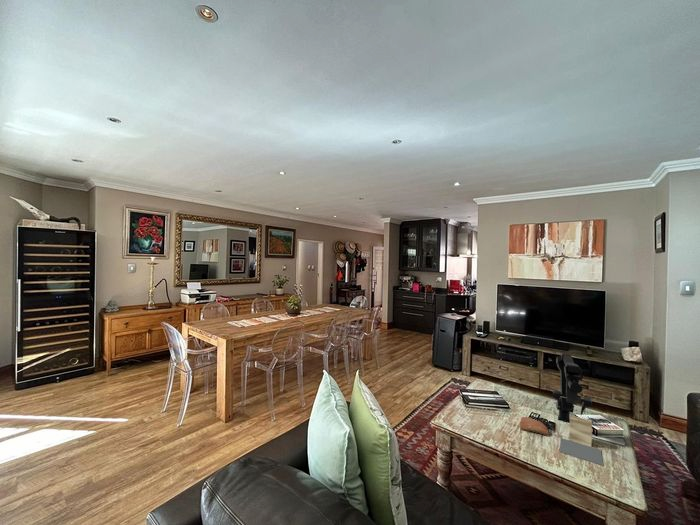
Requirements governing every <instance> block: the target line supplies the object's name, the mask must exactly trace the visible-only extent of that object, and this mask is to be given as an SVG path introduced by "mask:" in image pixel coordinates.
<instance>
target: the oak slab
mask: <svg viewBox="0 0 700 525" xmlns="http://www.w3.org/2000/svg"><path fill="white" fill-rule="evenodd" d="M592 428H593V422H592V420H591V419H587V418H583V417H581V416H575V415H571V414H570V423H569V429H568V430H569V431H568V432H569V433H568V436H569V437H568V440H570V441H573V442H577V443H580V444H583V445H587V446H590V447H592V438H593V436H592V434H593V433H592V432H593V431H592V430H593V429H592Z"/></svg>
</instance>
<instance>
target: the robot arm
mask: <svg viewBox="0 0 700 525" xmlns="http://www.w3.org/2000/svg"><path fill="white" fill-rule="evenodd" d="M555 364H556V366H557V368H558V370H559V374H560V391H558V390H553V391H552V398H553V399H554V400H556V403H555V408H556V410H557V411H558V415H557V420H558V421H562V422H566V423H569V424H570V415H571V414H573V413H574V409H575V405H577V403H578V404H579V403H581V407H580V416H582V415H583V413H584V411H585V410H586V408H590V407H591V408H592V407H593V399H592V398H589V397H586V396H585V397H583V398H582V396H581V395H579V394H580V393H582V392H583V390H584V389H583V386H582V384H581V383H580V381H583V379H584V376H583V370H582V368H581V367H580V366H579V365H578V364H577V363H575V362H574V360H573V358H572V354H567V353H561V354H560V355H558V356H557V357H556V359H555ZM570 413H571V414H570Z"/></svg>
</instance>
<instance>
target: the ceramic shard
mask: <svg viewBox="0 0 700 525" xmlns="http://www.w3.org/2000/svg"><path fill="white" fill-rule="evenodd" d="M532 418H533V417H530V416H522V417H520V422H519V430H520V431H527V432H531V433H532V432H533V433H538V434H541V435H543V436H546V437H549V430H548V427H547V426H546V425H545V424H544V423H543V422H541V421H540V420H538V419H536V418H534V419H532ZM535 419H536V420H535ZM537 420H538V421H537Z"/></svg>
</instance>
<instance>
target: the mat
mask: <svg viewBox="0 0 700 525" xmlns="http://www.w3.org/2000/svg"><path fill="white" fill-rule="evenodd" d="M559 441H560V442H559V444H560V445H559V453H561V454H564V455H568V456H571V457H574V458H577V459H580V460H583V461H587V462H590V463H593V464H596V465H599V466H604V463H603V456H602V450H601V449H599V448H596V447H594V446H591V447H590V446H587V445H583V444H580V443H577V442H573V441H570V440H569V439H566V438H563V437H560V440H559Z"/></svg>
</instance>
